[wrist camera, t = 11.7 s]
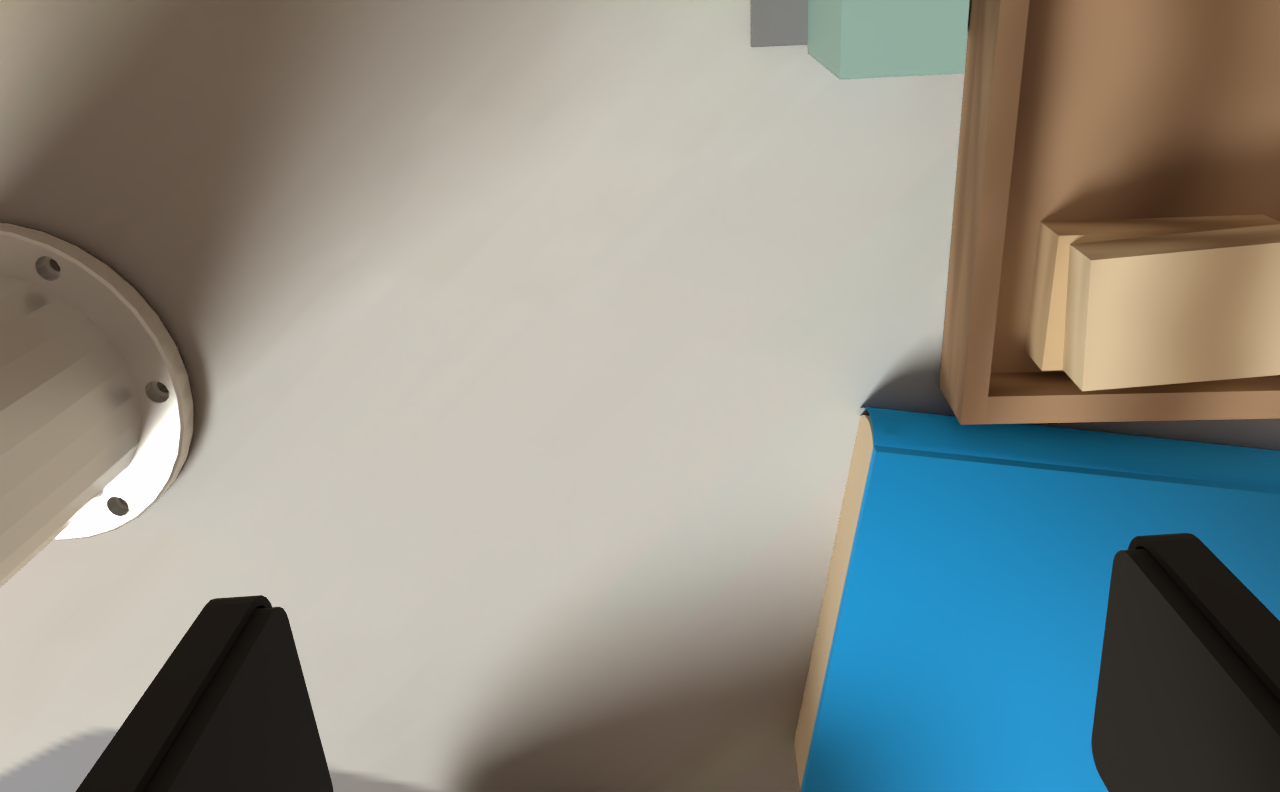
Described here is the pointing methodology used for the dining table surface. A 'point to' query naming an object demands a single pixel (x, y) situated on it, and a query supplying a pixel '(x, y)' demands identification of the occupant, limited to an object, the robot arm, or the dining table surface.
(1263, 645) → the robot arm
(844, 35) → the block
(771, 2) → the felt pad
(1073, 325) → the offcut top
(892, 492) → the book
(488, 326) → the dining table surface
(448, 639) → the dining table surface
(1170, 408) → the tray
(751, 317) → the dining table surface
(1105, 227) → the offcut low
